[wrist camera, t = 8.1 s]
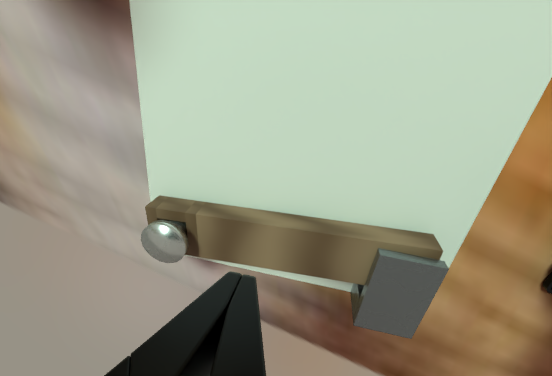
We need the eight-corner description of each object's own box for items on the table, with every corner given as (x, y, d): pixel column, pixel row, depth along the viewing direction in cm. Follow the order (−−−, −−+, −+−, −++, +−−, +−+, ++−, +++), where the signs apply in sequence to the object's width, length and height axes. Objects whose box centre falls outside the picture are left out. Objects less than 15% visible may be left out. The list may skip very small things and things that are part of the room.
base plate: (600, -39, 12) (721, -81, 9) (423, 300, 22) (443, 351, 18) (130, -81, 15) (60, -129, 11) (160, 243, 25) (129, 278, 21)
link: (165, 235, 23) (152, 249, 21) (159, 195, 21) (145, 206, 19) (417, 276, 20) (424, 295, 18) (433, 234, 18) (443, 250, 17)
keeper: (431, 237, 19) (448, 269, 16) (400, 303, 22) (411, 338, 19) (372, 226, 19) (379, 254, 17) (350, 291, 22) (353, 325, 19)
